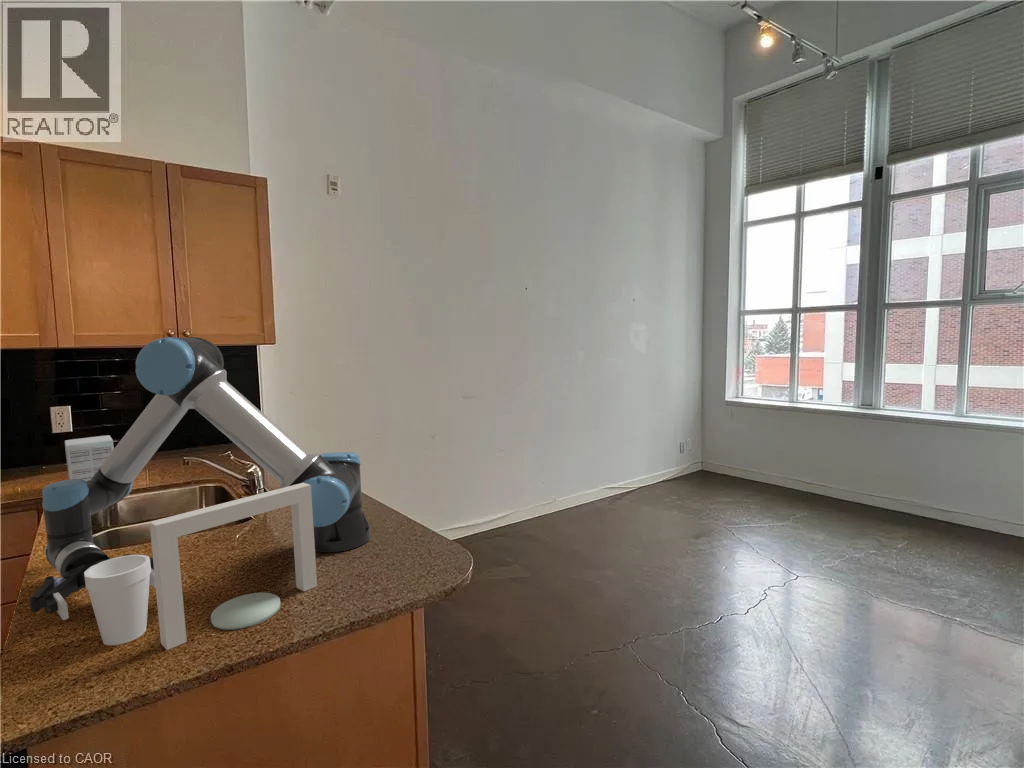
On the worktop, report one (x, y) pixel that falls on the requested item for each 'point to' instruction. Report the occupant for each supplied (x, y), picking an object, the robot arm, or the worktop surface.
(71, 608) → the worktop surface
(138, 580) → the foam cup
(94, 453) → the supplement box
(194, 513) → the keeper arch
